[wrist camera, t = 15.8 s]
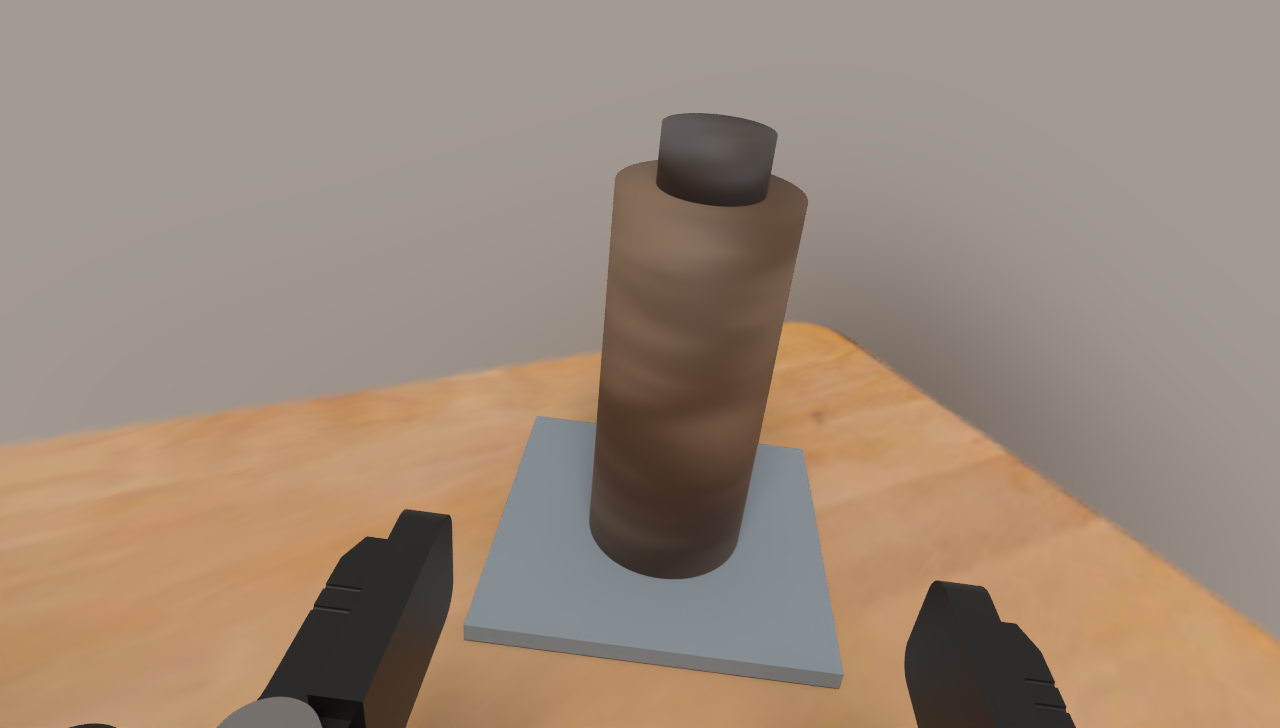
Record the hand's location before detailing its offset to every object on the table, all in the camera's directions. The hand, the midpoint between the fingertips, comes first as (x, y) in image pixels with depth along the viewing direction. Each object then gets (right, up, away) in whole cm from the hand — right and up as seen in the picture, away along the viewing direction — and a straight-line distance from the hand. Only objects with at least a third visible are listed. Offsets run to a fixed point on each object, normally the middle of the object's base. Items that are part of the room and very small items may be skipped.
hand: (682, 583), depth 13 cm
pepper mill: (0, -2, +14) cm, 14 cm away
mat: (0, -2, +14) cm, 15 cm away
